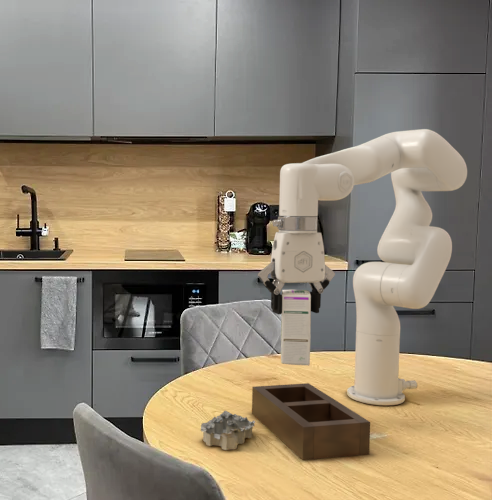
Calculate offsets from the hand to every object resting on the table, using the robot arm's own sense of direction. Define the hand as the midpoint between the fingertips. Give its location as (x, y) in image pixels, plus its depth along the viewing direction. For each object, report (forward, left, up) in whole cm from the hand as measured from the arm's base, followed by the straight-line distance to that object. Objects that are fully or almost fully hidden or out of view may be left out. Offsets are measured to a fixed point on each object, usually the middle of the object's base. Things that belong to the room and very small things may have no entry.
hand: (295, 312), depth 125 cm
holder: (0, +5, -23) cm, 24 cm away
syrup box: (0, 0, -10) cm, 10 cm away
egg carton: (+16, +6, -23) cm, 29 cm away
